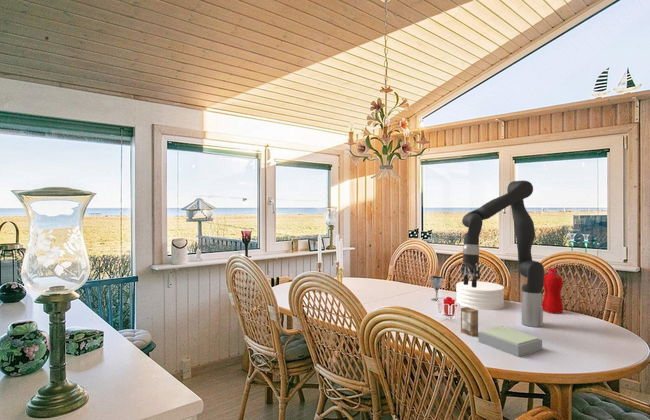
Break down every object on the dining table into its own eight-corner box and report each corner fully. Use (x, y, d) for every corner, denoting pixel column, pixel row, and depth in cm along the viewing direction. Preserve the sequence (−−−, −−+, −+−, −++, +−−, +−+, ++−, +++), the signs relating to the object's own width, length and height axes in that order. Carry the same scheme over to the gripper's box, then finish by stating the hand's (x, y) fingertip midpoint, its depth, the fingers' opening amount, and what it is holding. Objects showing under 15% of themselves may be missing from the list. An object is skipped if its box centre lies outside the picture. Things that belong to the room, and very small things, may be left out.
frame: (478, 335, 187) (478, 310, 187) (472, 336, 185) (472, 311, 185) (466, 330, 194) (466, 306, 193) (460, 332, 192) (460, 307, 191)
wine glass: (443, 301, 251) (443, 278, 250) (430, 301, 252) (430, 277, 252) (442, 298, 258) (442, 276, 258) (430, 298, 260) (430, 275, 260)
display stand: (542, 349, 168) (542, 338, 168) (518, 356, 161) (518, 344, 161) (501, 335, 186) (501, 325, 186) (478, 341, 178) (478, 330, 178)
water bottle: (552, 315, 220) (553, 270, 220) (539, 309, 231) (540, 267, 230) (567, 314, 221) (568, 270, 221) (554, 309, 232) (554, 267, 232)
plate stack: (489, 312, 226) (489, 292, 226) (447, 302, 248) (447, 285, 248) (512, 304, 244) (512, 286, 244) (471, 296, 266) (471, 279, 265)
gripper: (485, 254, 189) (484, 288, 188) (471, 252, 203) (470, 284, 202) (470, 254, 188) (469, 288, 187) (457, 252, 202) (456, 283, 201)
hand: (469, 286), depth 195 cm, fingers open, 8 cm apart
